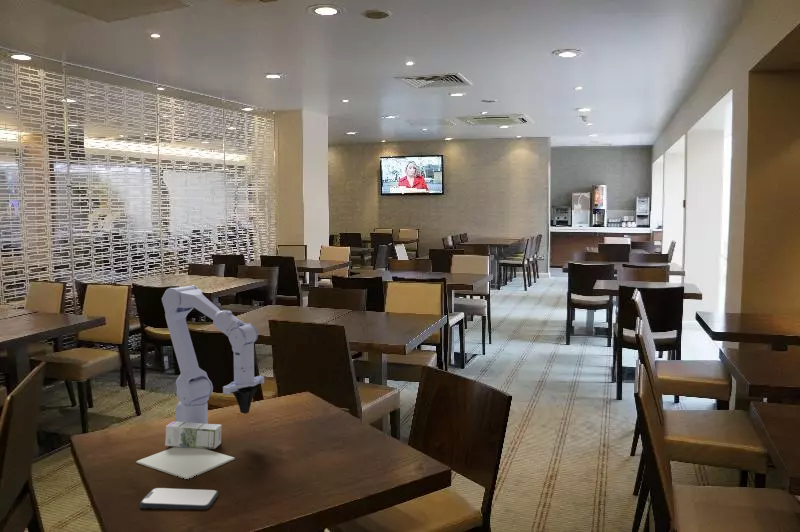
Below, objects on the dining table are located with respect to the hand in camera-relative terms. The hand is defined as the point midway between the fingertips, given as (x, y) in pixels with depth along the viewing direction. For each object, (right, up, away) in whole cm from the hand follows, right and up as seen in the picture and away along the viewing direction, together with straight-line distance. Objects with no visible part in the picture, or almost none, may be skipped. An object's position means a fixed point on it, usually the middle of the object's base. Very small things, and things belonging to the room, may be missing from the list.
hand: (244, 412), depth 194 cm
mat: (-12, -10, -15) cm, 22 cm away
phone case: (-6, -13, -39) cm, 41 cm away
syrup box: (-6, -6, -5) cm, 10 cm away
